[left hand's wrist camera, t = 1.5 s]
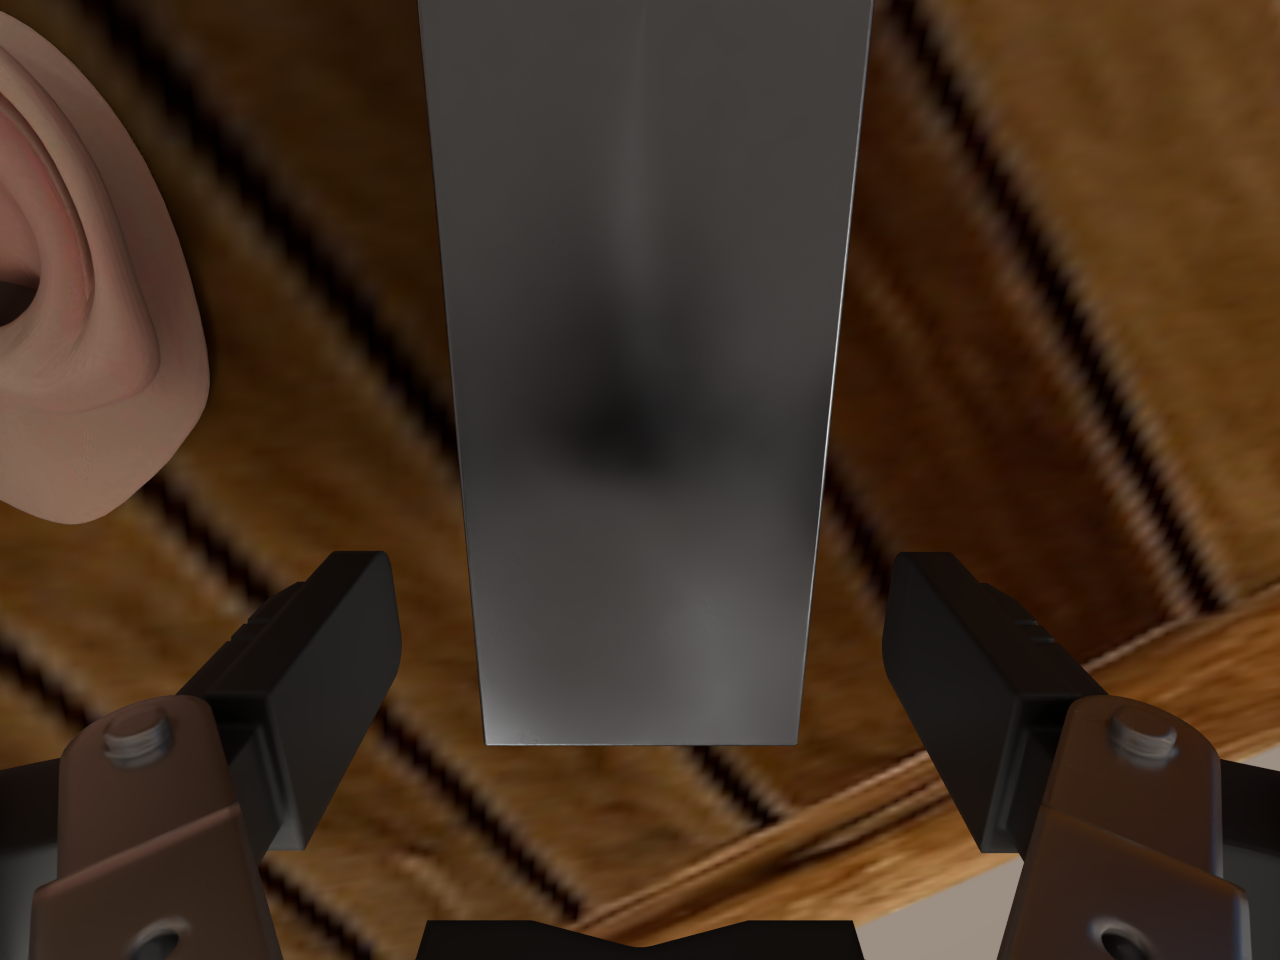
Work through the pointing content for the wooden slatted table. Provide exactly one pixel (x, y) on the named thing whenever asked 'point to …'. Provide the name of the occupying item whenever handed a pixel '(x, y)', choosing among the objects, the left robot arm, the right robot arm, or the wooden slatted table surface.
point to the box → (643, 349)
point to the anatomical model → (85, 297)
